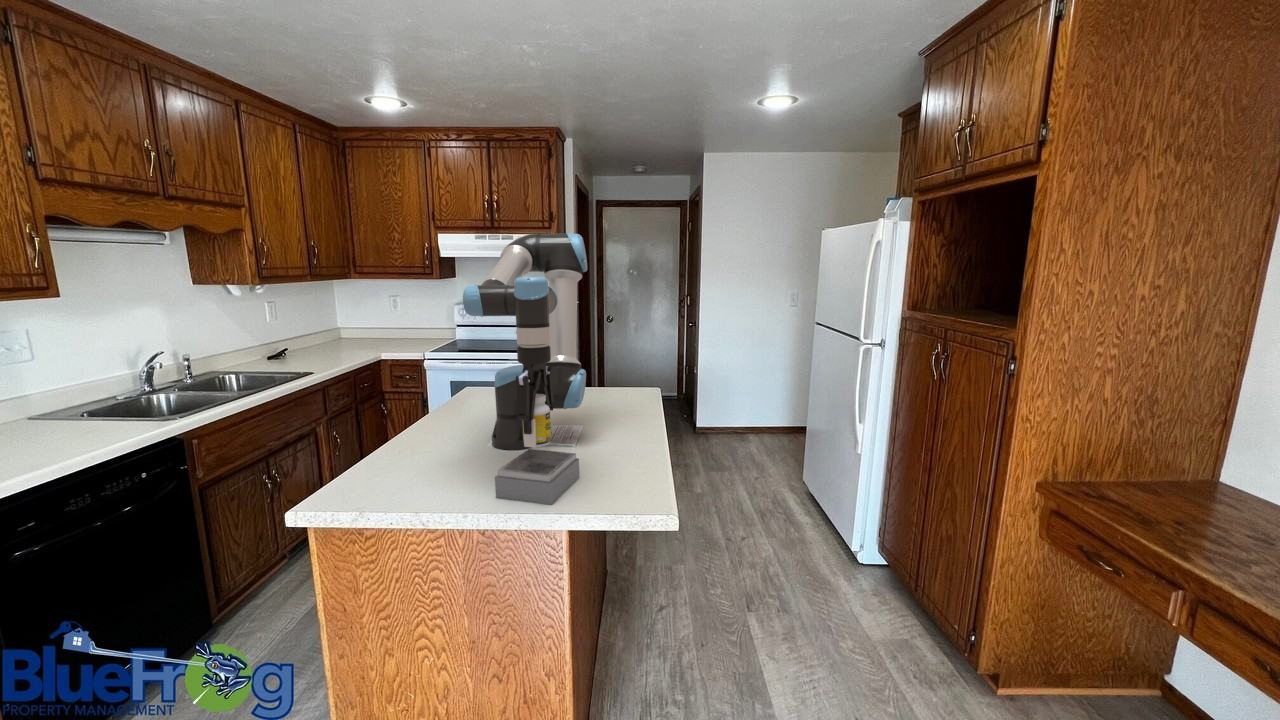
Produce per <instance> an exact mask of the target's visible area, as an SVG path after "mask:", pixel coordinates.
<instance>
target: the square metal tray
mask: <svg viewBox="0 0 1280 720" xmlns="http://www.w3.org/2000/svg"><path fill="white" fill-rule="evenodd" d="M579 479H580V458H577V453H576V452H564V451H555V450H554V451H553V450H546V449H545V450H544V449H535V448H527V449H526V450H525V451H524V452H522V453H520V454H519V455H518V456H516V457H514V458H513V459H512V460H510V461H509V462H508V463H506V464H505V465H502V466H501V467H500V468H499V469H497V475H496V476H494V487H495V489H494V490H495V498H496V499H502V498H503V499H504V500H511V501H517V500H518V502H519V501H520V502H528V503H533V504H543V505H548V506H549V505H550V506H552V505H553V504H554V503H555V502H556V501H557V500H558V499H559V498H560V497H562V495H564V493H566V491H568V490H569V489H570V488H571V486H573V485H574V484H575V483H576V482H577V481H578V480H579ZM503 499H502V500H503Z"/></svg>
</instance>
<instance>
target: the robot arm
mask: <svg viewBox="0 0 1280 720" xmlns="http://www.w3.org/2000/svg"><path fill="white" fill-rule="evenodd" d="M585 247H586V246H585V243H584V237H582V235H580V234H579V233H569V232H566V233H530V234H526V235H524V236H521V237H519V238H516V239H514V240H513V241H511V242H510V243H508V244H507V245H506V246H505V247H504V248H503V250H502V251H501V253H500V256H499V261H498V262H497V264H495V266H494V268H493V269H492V270H491V271H490V272H489V274H488V275H487V277H486V278H485V280H484V281H482V283H481V285H479V284H478V285H477V284H474V285H468V286H466V287H465V288H464V289H463V294H462V304H463V308H464V309H463V310H464V311H465V313H466V314H467V315H468V316H470V317H481V318H483V317H507V316H508V317H515V328H516V329H515V330H516V331H515V334H516V344H517V345H519V346H517V348H516V356H517V362H518V363H519V364H518V365H517V364H516V365H512V366H511V365H510V366H508V367H504V368H500V369H499V370H498V371H496V372H495V373H494V391H495V393H494V394H495V395H494V396H495V409H496V410H495V411H496V421H495V424H494V427H493V431H492V434H491V445H492V446H493V447H494V448H496V449H499V450H510V451H511V450H525V449H531V448H532V449H535V448H537V447H536V425H535V419H533V415H534V406H535V397H536V394H544V395H546V401H545V404H546V405H548V406H549V408H550V412H551V411H554V409H559V410H560V409H563V410H566V409H577V408H579V407H580V406H581V405H582V403H583V401H584V396H585V391H586V383H587V372H586V371H587V370H585V369H584V368H582V363H581V362H580V361H579V360H578V358H577V327H578V326H577V322H578V321H577V320H578V319H577V318H578V314H577V313H578V312H577V311H578V283H579V281H580V280H582V278H583V273H585V272H587V271H588V262H587V261H588V260H587V259H588V258H587V253H586V248H585ZM530 272H531V273H533V272H534V273H535V272H539V273H541V272H542V273H544V277H543V276H541V277H540V276H536V277H534V276H533V277H531V276H529V277H524V276H525V275H527V274H528V273H530ZM523 430H524V441H523Z"/></svg>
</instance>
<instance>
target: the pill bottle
mask: <svg viewBox="0 0 1280 720" xmlns="http://www.w3.org/2000/svg"><path fill="white" fill-rule="evenodd" d="M545 401H546V395H544V394H536V397H535V406H534V415H533V419H535V425H536V447H535V448H542V447H545V446H547V445H549V444H551V442H552V430H551V428H552V427H551V423H552V422H551V410H550V408H549V406H548V405H546V404H545ZM523 441H524V430H523Z"/></svg>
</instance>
